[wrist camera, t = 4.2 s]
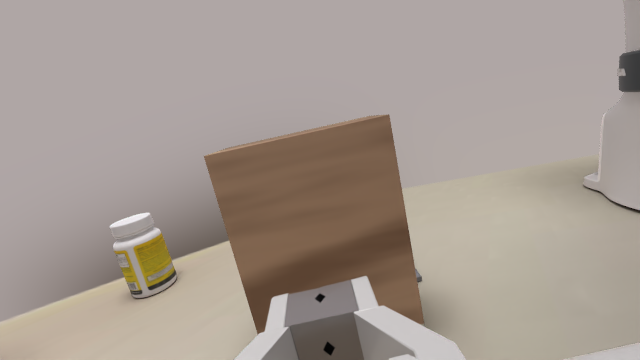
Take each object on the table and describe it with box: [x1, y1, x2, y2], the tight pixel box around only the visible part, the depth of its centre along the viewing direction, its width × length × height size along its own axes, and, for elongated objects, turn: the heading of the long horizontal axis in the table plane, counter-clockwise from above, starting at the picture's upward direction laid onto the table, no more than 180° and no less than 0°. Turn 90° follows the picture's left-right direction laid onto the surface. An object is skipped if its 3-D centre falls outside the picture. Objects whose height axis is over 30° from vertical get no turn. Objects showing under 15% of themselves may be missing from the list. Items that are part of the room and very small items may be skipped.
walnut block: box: [204, 115, 425, 334], centre depth 19 cm, size 5×10×14 cm, turn 93°
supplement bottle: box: [110, 213, 177, 298], centre depth 33 cm, size 5×5×8 cm
